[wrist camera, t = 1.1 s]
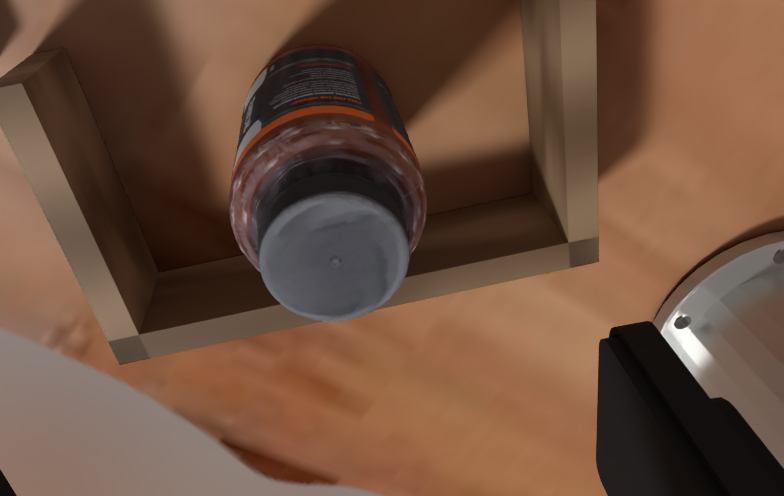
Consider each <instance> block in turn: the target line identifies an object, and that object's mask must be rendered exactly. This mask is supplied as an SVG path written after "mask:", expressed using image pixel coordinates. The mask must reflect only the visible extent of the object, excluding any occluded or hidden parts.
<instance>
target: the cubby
mask: <svg viewBox="0 0 784 496" xmlns="http://www.w3.org/2000/svg"><path fill="white" fill-rule="evenodd" d="M520 2H521V17H522V31H523V46H524V61H525V76H526V90H527V105H528V120H529V135H530V150H531V164H532V179H533V193H532V194H528V195H523V196H518V197H513V198H509V199H504V200H499V201H495V202H490V203H485V204H480V205H476V206H471V207H466V208H462V209H457V210H452V211H448V212H443V213H438V214H433V215H429V216H426V222H425V226H424V229H423V231H422V235H421V237H420V239H419V242H418V244H417V246H416V248H415V249H414V250H413V252H412V253H411V255H410V260H409V265H408V270H407V274H406V276H405V278H404V279H403V282H402V284H401V286H400V287H399V288H398V290H397V291H396V292H395V293H394V294H393V296H392V297H391V298H390V299H389V300H388V301H387V302H385V303H384V304H383V305H381V306H380V307H378V308H376V309H375V310H377V309H382V308H387V307H391V306H396V305H401V304H405V303H410V302H415V301H419V300H424V299H429V298H433V297H438V296H443V295H447V294H452V293H456V292H461V291H466V290H470V289H475V288H480V287H484V286H489V285H494V284H498V283H503V282H508V281H512V280H517V279H522V278H526V277H531V276H535V275H540V274H545V273H549V272H554V271H559V270H563V269H568V268H573V267H577V266H582V265H587V264H591V263H596V262H599V224H598V138H597V52H596V0H520ZM0 126H1V128H2V130H3V132H4V134H5V136H6V138H7V140H8V142H9V144H10V146H11V148H12V150H13V152H14V154H15V156H16V158H17V160H18V162H19V164H20V166H21V168H22V170H23V172H24V174H25V176H26V178H27V180H28V182H29V184H30V186H31V188H32V190H33V192H34V194H35V196H36V198H37V200H38V202H39V204H40V206H41V208H42V210H43V212H44V214H45V216H46V218H47V220H48V222H49V224H50V226H51V228H52V230H53V232H54V234H55V236H56V238H57V240H58V242H59V244H60V246H61V248H62V250H63V252H64V254H65V256H66V258H67V260H68V262H69V264H70V266H71V268H72V270H73V272H74V274H75V276H76V278H77V280H78V282H79V284H80V286H81V288H82V290H83V292H84V294H85V296H86V298H87V300H88V302H89V304H90V306H91V308H92V310H93V312H94V314H95V316H96V318H97V320H98V322H99V324H100V326H101V328H102V330H103V332H104V334H105V336H106V338H107V340H108V342H109V344H110V346H111V348H112V350H113V352H114V354H115V356H116V358H117V360H118V362H119V364H120V365H122V364H126V363H131V362H136V361H140V360H145V359H150V358H154V357H159V356H164V355H168V354H173V353H178V352H182V351H187V350H192V349H196V348H201V347H205V346H210V345H215V344H219V343H224V342H229V341H233V340H238V339H243V338H247V337H252V336H257V335H261V334H266V333H271V332H275V331H280V330H284V329H289V328H294V327H298V326H303V325H308V324H312V323H317V322H322V321H319V320H313V319H311V318H307V317H304V316H301V315H298V314H296V313H294V312H292V311H290V310H288V309H287V308H285V307H284V306H283V305H282V304H280V303H279V301H277V300H276V299H275V298H274V297H273V296H272V294H271V293H270V292H269V290H268V289H267V287H266V285H265V283H264V281H263V279H262V276H261V272H259V271H258V270H257V269H256V268H255V267H254V265H253V264H252V263H251V262H250V261H249V260H248V259H247V257H246V255H240V256H236V257H231V258H226V259H221V260H217V261H212V262H207V263H203V264H198V265H193V266H188V267H184V268H179V269H174V270H170V271H165V272H160V273H159V272H158V269H157V267H156V264H155V262H154V260H153V257H152V255H151V253H150V250H149V248H148V245H147V243H146V241H145V238H144V236H143V234H142V231H141V229H140V226H139V224H138V222H137V219H136V217H135V214H134V212H133V210H132V207H131V205H130V203H129V200H128V198H127V195H126V193H125V191H124V188H123V186H122V184H121V181H120V179H119V176H118V174H117V172H116V169H115V167H114V165H113V162H112V160H111V157H110V155H109V153H108V150H107V148H106V145H105V143H104V141H103V138H102V136H101V134H100V131H99V129H98V126H97V124H96V122H95V119H94V117H93V115H92V112H91V110H90V107H89V105H88V103H87V100H86V98H85V96H84V93H83V91H82V88H81V86H80V84H79V81H78V79H77V76H76V74H75V72H74V69H73V67H72V65H71V62H70V60H69V57H68V55H67V53H66V50H65V48H60V49H55V50H50V51H46V52H41V53H36V54H32V55H30V56H29V57H28V58H26V59H25V60H24V61H22V62H21V63H20V64H18V65H17V66H16V67H14V68H13V69H12V70H10V71H9V72H8V73H6V74H5V75H4V76H2V77H1V78H0Z"/></svg>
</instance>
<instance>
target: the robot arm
mask: <svg viewBox="0 0 784 496" xmlns="http://www.w3.org/2000/svg"><path fill="white" fill-rule="evenodd" d="M596 463H597V469H598V473H599V476H600V479H601V482H602V484H603V486H604V488H605V490H606V493H607V495H608V496H784V231H781V232H776V233H770V234H765V235H762V236H759V237H756V238H754V239H751V240H748V241H745V242H742V243H740V244H738V245H736V246H734V247H732V248H730V249H728V250H726V251H724V252H722V253H720V254H718V255H717V256H715V257H714V258H713V259H711V260H710V261H708V262H707V263H705V264H704V265H702V266H701V267H699V268H698V269H697V270H696V271H695V272H693V273H692V274H691V275H690V276H689V277H688V278H687V279H686V280H685V281H683V282H682V283H681V284H680V285H679V286H678V287H677V289H676V290H675V291H674V292H673V293H672V295H671V296H670V297H669V298H668V299H667V301H666V302H665V303H664V305H663V306H662V308H661V310H660V311H659V313H658V315H657V316H656V318H655V320H654V321H653V323H652V322H649V321H645V322H640V323H634V324H629V325H623V326H618V327H613V328H611V330H610V334H609V338H605V339H601V340H600V343H599V367H598V406H597V445H596ZM0 496H16V494H15V492H14V491H13V489H12V487H11V486H10V484H9V483H8V481H7V479H6V478H5V476H4V475H3V473H2V471H1V470H0Z"/></svg>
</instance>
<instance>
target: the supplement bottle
mask: <svg viewBox="0 0 784 496" xmlns="http://www.w3.org/2000/svg"><path fill="white" fill-rule="evenodd" d="M229 214H230V221H231V226H232V229H233V233H234V235H235V240H236V241H237V243H238V245H239V248H240V249H241V251H242V252H243V253H244V254H245V255H246V257H247V259H248V260H249V261H250V262H251V263H252V264H253V265H254V267H255V268H256V269H257V270H258V271H259V272H261V276H262V279H263V281H264V283H265V285H266V287H267V289H268V290H269V292H270V293H271V294H272V296H273V297H274V298H275V299H276V300H277V301H279V303H280V304H282V305H283V306H284V307H285V308H287V309H288V310H290V311H292V312H294V313H296V314H298V315H301V316H304V317H307V318H311V319H313V320H319V321H343V320H348V319H353V318H356V317H359V316H362V315H365V314H366V313H370V312H372V311H374V310H375V309H376V308H378V307H380V306H381V305H383V304H384V303H385V302H387V301H388V300H389V299H390V298H391V297H392V296H393V294H394V293H395V292H396V291H397V290H398V288H399V287H400V286H401V284H402V282H403V279H404V278H405V276H406V274H407V270H408V265H409V260H410V255H411V253H412V252H413V250H414V249H415V248H416V246H417V244H418V242H419V239H420V237H421V235H422V231H423V229H424V226H425V222H426V214H427V194H426V186H425V180H424V176H423V174H422V171H421V168H420V166H419V162H418V159H417V157H416V154H415V152H414V150H413V147H412V145H411V142H410V140H409V137H408V135H407V132H406V130H405V127H404V125H403V123H402V120H401V118H400V115H399V113H398V110H397V108H396V105H395V103H394V100H393V98H392V95H391V93H390V91H389V89H388V87H387V86H386V84H385V82H384V81H383V80H382V78H381V77H380V75H379V74H378V73H377V72H376V71H375V69H374V68H373V67H372V66H371V65H369V64H368V63H367V62H366V61H365V60H363V59H362V58H360V57H359V56H357V55H355V54H354V53H352V52H350V51H348V50H345V49H342V48H339V47H334V46H327V45H310V46H304V47H299V48H295V49H292V50H289V51H287V52H285V53H283V54H281V55H280V56H278V57H276V58H275V59H273V60H272V61H271V62H270V63H269V64H268V65H267V66H266V67H265V68H264V69H263V70H262V71H261V72H260V74H259V75H258V76H257V77H256V79H255V81H254V83H253V84H252V86H251V89H250V91H249V94H248V96H247V99H246V103H245V106H244V111H243V115H242V123H241V128H240V135H239V142H238V146H237V152H236V157H235V163H234V169H233V173H232V180H231V187H230V195H229Z"/></svg>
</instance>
